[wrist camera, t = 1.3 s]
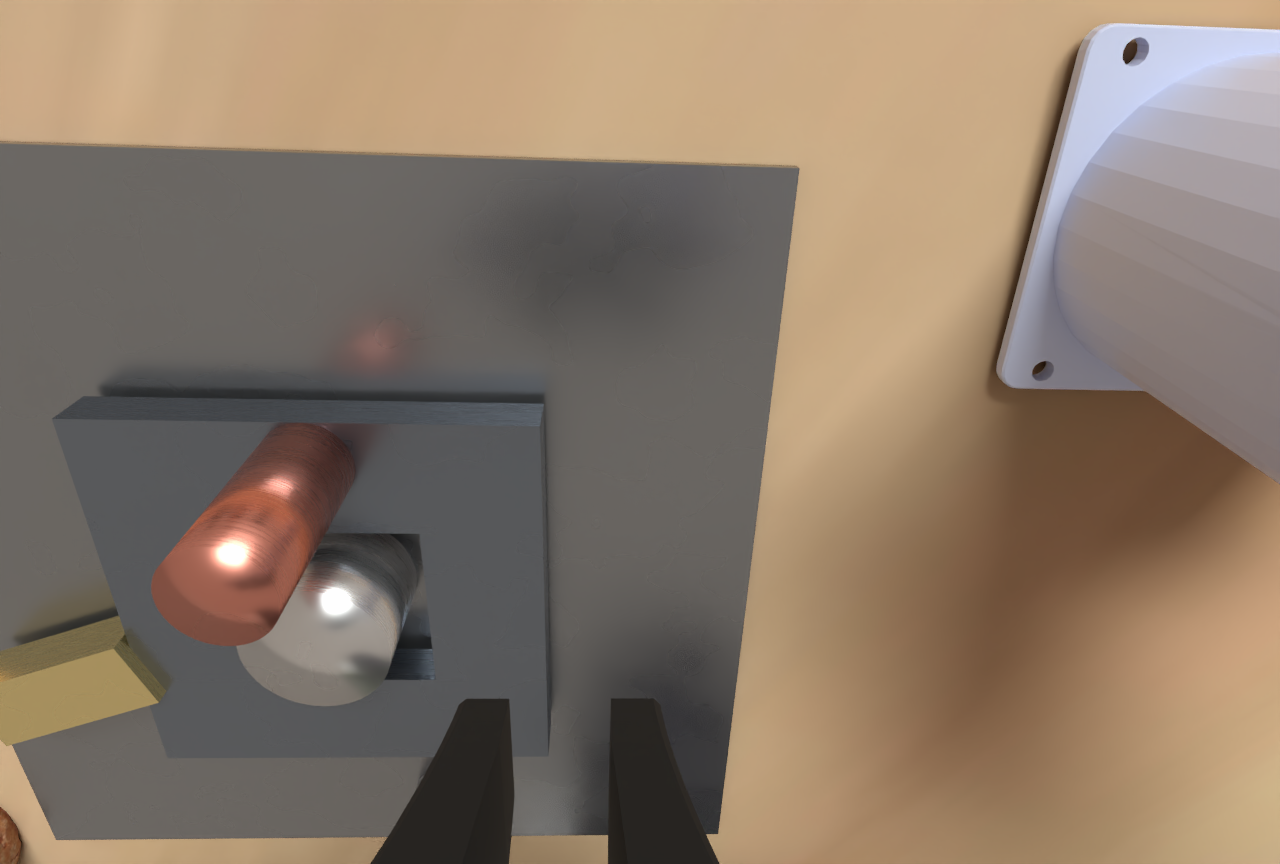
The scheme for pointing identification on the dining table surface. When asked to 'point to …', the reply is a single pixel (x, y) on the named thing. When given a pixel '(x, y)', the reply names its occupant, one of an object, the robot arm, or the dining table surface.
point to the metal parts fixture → (294, 569)
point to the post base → (414, 372)
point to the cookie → (8, 840)
